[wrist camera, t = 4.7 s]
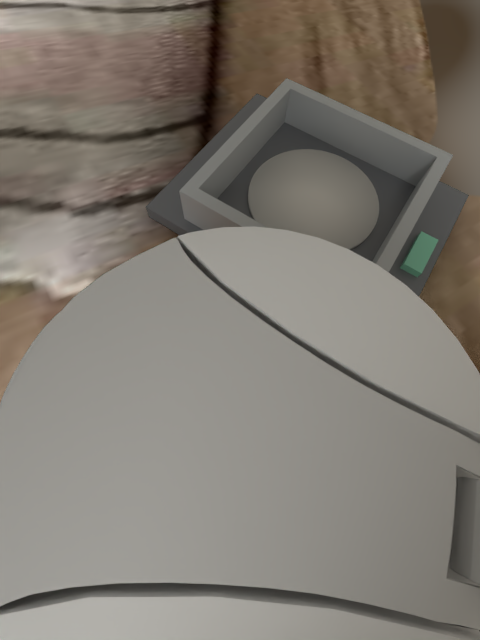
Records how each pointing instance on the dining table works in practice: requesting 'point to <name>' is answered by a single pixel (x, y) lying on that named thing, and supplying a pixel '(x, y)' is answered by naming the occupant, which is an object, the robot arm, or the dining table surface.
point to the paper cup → (242, 454)
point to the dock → (320, 182)
